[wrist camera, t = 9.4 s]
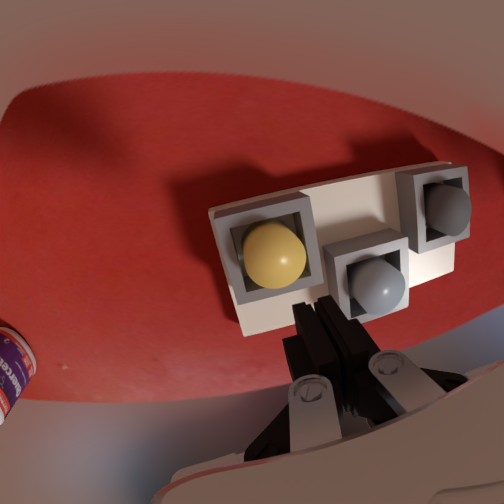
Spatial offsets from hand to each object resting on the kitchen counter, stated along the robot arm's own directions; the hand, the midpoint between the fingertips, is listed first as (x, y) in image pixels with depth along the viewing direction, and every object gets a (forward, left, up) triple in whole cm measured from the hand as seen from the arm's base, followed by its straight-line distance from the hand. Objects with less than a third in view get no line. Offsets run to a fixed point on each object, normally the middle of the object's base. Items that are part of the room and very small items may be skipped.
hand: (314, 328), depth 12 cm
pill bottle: (+35, +6, -15) cm, 39 cm away
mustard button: (0, 0, -12) cm, 12 cm away
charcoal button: (-16, 0, -12) cm, 20 cm away
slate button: (-8, +5, -12) cm, 15 cm away
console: (-8, +2, -15) cm, 17 cm away
